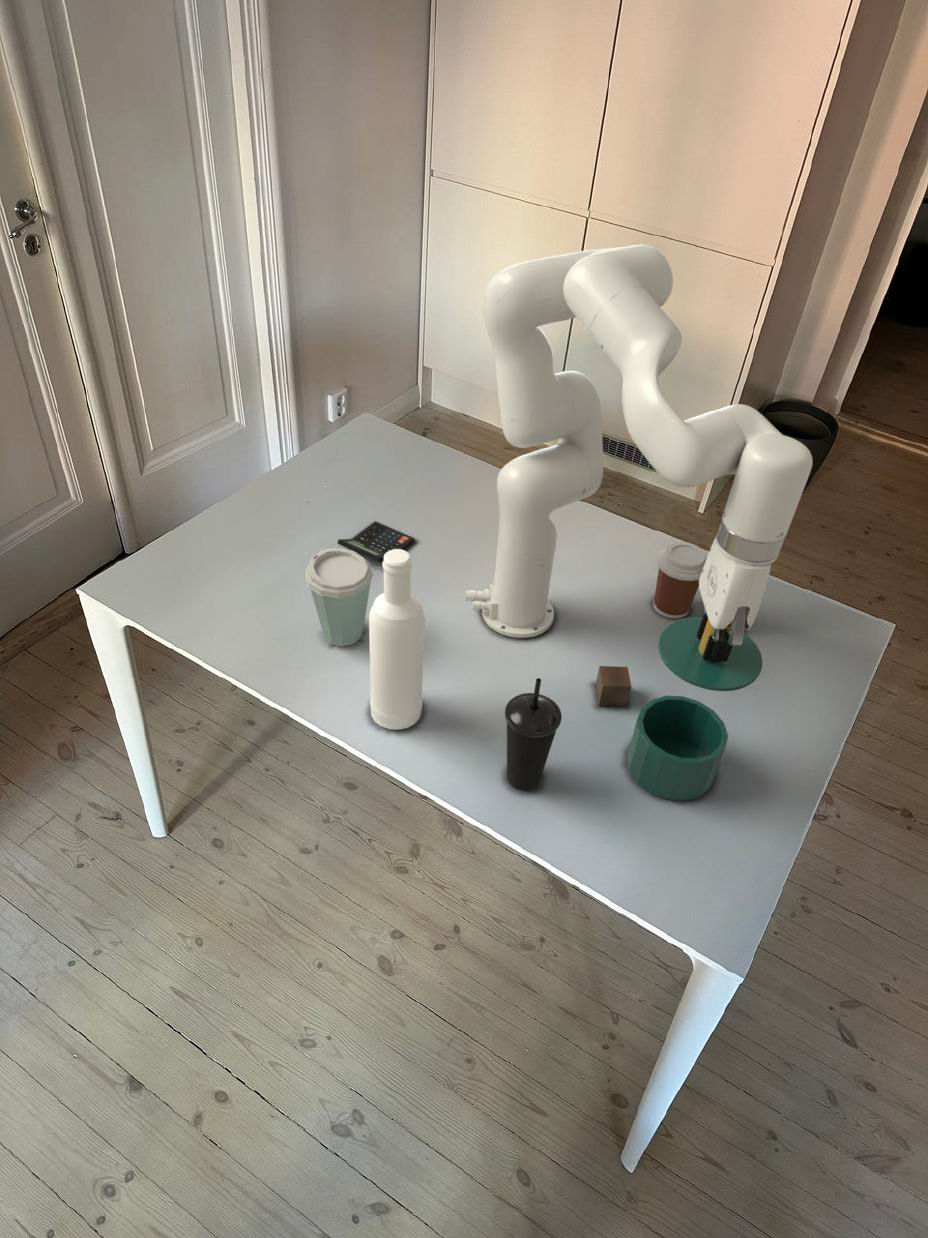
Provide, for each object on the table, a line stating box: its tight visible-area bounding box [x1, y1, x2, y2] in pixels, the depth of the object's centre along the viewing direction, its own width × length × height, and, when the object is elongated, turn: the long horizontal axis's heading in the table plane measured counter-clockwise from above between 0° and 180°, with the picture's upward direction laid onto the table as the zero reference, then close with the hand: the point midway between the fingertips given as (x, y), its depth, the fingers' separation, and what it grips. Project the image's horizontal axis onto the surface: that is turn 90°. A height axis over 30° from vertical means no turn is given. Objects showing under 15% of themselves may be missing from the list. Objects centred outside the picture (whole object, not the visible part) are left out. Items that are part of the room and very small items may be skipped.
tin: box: [626, 695, 729, 802], centre depth 127 cm, size 13×13×8 cm
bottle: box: [368, 549, 426, 731], centre depth 125 cm, size 8×8×30 cm
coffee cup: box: [652, 541, 707, 619], centre depth 154 cm, size 9×9×12 cm
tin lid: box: [657, 616, 764, 692], centre depth 115 cm, size 14×14×7 cm
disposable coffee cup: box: [304, 547, 373, 647], centre depth 142 cm, size 11×11×15 cm
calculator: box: [337, 521, 415, 563], centre depth 165 cm, size 9×12×3 cm
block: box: [594, 665, 632, 708], centre depth 139 cm, size 4×4×4 cm
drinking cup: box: [504, 677, 563, 792], centre depth 120 cm, size 8×8×20 cm
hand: (711, 648), depth 116 cm, fingers closed on tin lid, 3 cm apart
